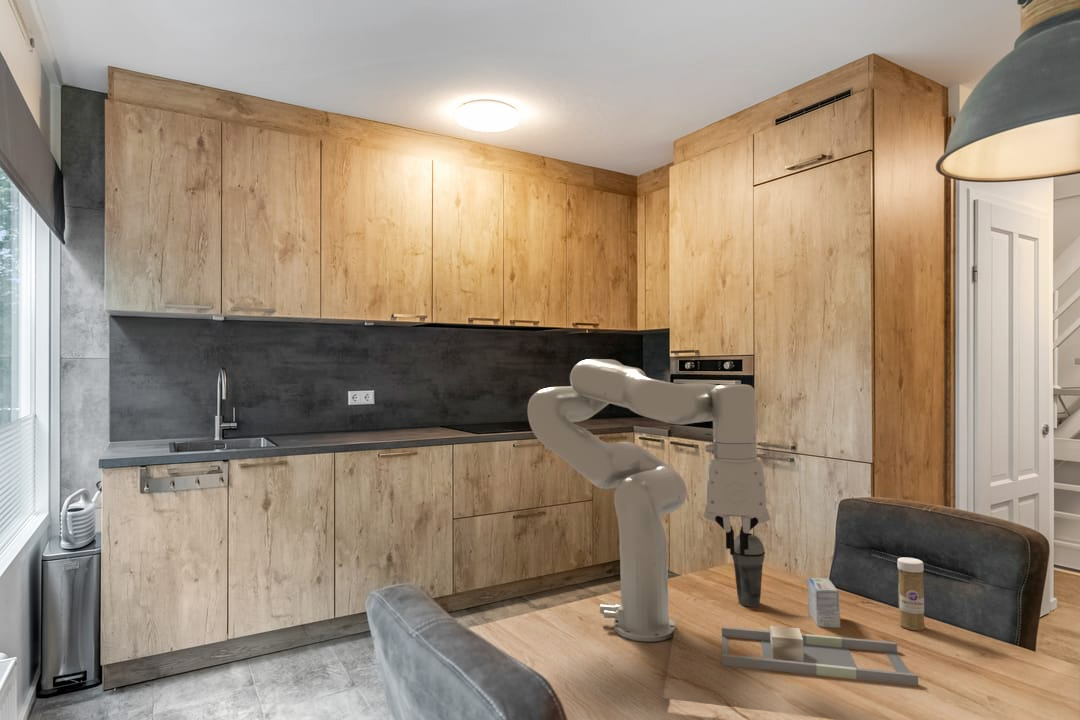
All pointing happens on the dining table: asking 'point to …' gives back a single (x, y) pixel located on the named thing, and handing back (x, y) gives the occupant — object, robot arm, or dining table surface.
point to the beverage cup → (748, 570)
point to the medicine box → (823, 602)
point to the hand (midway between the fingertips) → (737, 552)
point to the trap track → (821, 657)
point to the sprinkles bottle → (911, 593)
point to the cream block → (786, 643)
